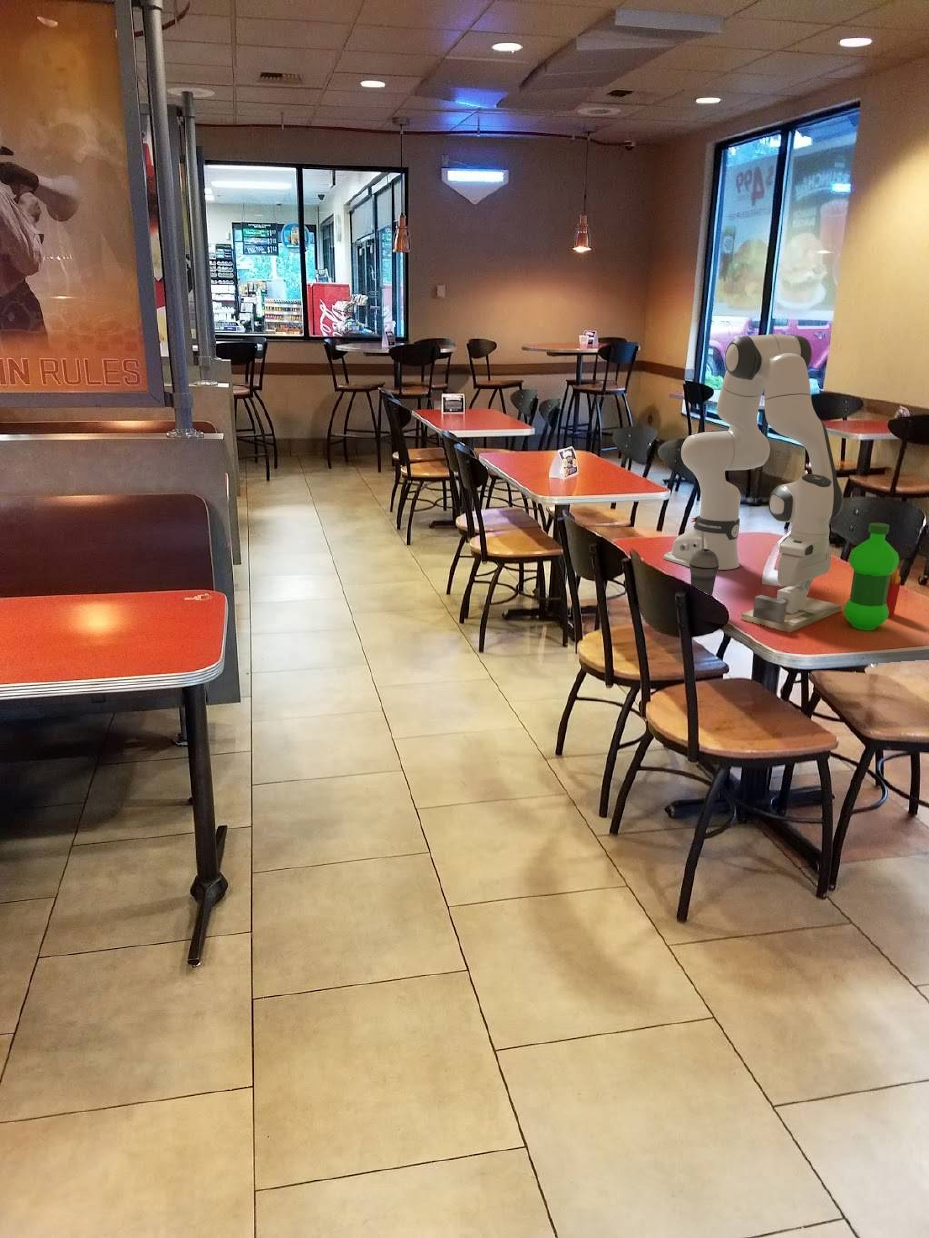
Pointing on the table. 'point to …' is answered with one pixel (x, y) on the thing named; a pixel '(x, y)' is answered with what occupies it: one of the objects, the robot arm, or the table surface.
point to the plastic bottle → (871, 579)
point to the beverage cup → (704, 569)
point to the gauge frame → (776, 617)
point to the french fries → (893, 592)
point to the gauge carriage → (793, 598)
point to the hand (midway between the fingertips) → (801, 596)
